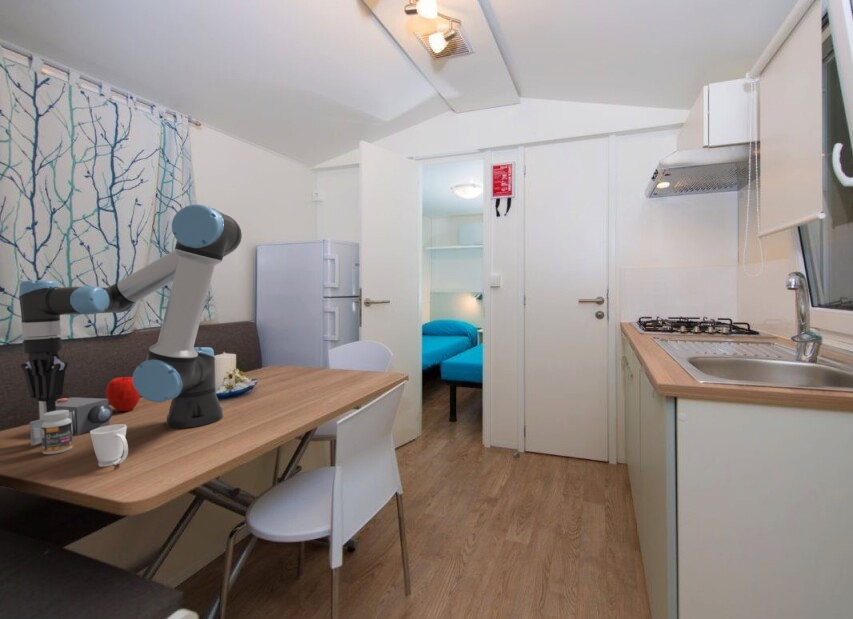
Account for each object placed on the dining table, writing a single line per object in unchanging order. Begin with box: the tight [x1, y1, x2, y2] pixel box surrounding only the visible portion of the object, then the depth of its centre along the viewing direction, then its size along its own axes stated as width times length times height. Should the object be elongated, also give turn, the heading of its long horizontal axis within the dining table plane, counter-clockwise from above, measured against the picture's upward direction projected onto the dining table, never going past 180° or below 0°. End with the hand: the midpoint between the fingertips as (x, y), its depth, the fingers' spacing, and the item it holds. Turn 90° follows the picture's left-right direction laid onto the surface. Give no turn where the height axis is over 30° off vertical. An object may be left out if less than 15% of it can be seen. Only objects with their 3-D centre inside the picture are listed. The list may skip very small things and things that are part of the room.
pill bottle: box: [41, 410, 74, 455], centre depth 100 cm, size 6×6×10 cm
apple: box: [105, 375, 141, 412], centre depth 135 cm, size 10×10×12 cm
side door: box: [29, 410, 76, 446], centre depth 106 cm, size 10×2×6 cm, turn 167°
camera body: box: [37, 396, 113, 436], centre depth 117 cm, size 17×9×9 cm, turn 78°
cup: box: [89, 423, 129, 467], centre depth 91 cm, size 7×10×8 cm
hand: (48, 423), depth 107 cm, fingers closed
